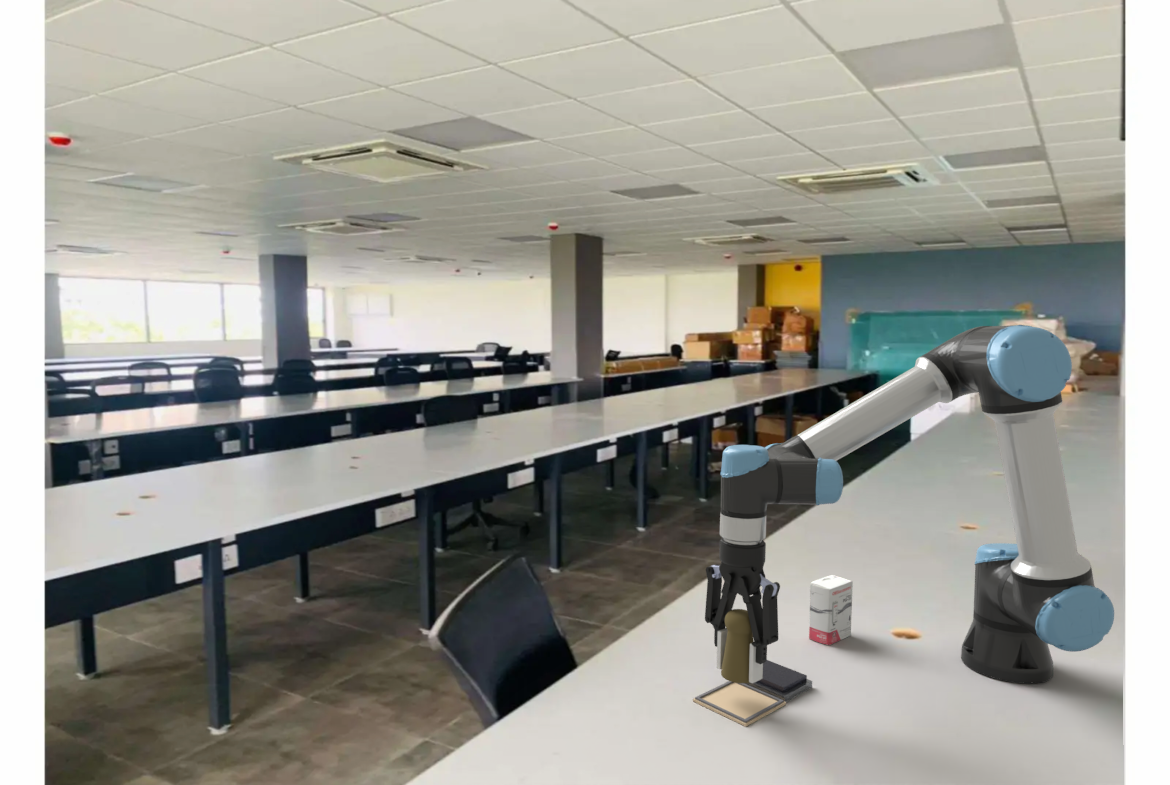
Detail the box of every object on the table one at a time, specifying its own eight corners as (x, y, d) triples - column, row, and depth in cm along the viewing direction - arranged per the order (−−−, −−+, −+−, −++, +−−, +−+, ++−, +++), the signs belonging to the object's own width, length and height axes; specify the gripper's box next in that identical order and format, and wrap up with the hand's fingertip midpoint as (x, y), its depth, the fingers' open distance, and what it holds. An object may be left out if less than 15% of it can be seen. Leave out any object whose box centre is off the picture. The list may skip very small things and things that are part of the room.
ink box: (828, 646, 152) (829, 588, 151) (807, 638, 156) (808, 582, 155) (852, 635, 158) (854, 579, 157) (831, 628, 162) (832, 573, 161)
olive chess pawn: (752, 666, 132) (753, 604, 131) (761, 683, 126) (763, 618, 125) (717, 667, 132) (718, 605, 131) (725, 683, 126) (726, 618, 125)
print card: (785, 704, 129) (786, 700, 129) (745, 726, 121) (745, 722, 121) (733, 681, 137) (733, 677, 137) (692, 701, 130) (693, 697, 130)
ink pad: (812, 687, 135) (812, 675, 135) (784, 702, 129) (784, 690, 129) (755, 664, 144) (756, 653, 144) (727, 678, 138) (728, 666, 138)
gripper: (805, 547, 122) (800, 686, 124) (712, 523, 136) (709, 649, 138) (777, 556, 117) (773, 701, 119) (684, 530, 131) (681, 660, 133)
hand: (739, 673), depth 129 cm, fingers closed on olive chess pawn, 6 cm apart
